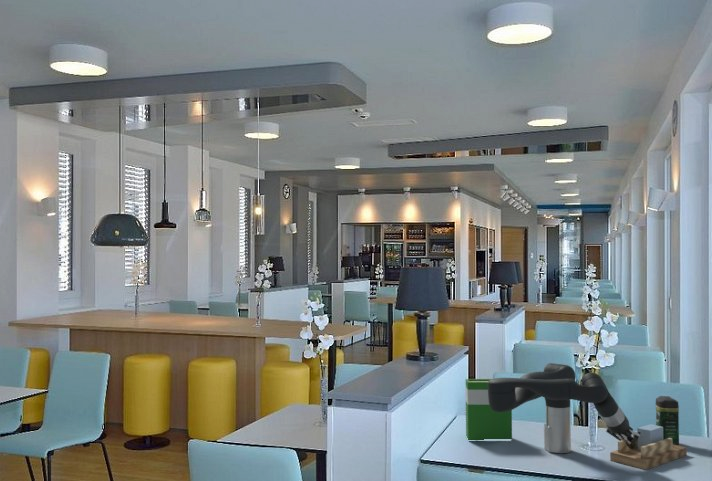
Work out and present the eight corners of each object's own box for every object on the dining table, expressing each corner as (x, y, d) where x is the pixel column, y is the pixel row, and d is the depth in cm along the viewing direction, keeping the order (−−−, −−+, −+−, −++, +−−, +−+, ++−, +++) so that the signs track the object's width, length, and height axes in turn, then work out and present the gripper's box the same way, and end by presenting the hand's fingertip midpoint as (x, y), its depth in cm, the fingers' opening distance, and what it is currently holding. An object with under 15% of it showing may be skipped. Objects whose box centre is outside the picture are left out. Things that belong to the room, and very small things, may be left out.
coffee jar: (681, 447, 273) (681, 399, 273) (660, 446, 274) (659, 399, 275) (674, 441, 283) (673, 394, 283) (653, 440, 284) (653, 394, 284)
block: (650, 452, 256) (650, 430, 256) (637, 449, 260) (637, 428, 260) (663, 448, 262) (663, 426, 262) (650, 445, 266) (650, 424, 266)
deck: (646, 469, 246) (645, 449, 246) (610, 460, 257) (610, 441, 257) (686, 455, 263) (686, 436, 263) (651, 447, 274) (651, 429, 274)
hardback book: (508, 436, 291) (508, 379, 291) (512, 441, 283) (511, 382, 284) (466, 436, 292) (465, 379, 292) (468, 441, 284) (467, 382, 285)
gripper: (592, 422, 249) (612, 451, 256) (626, 429, 239) (646, 459, 246) (601, 405, 252) (620, 434, 260) (635, 412, 242) (654, 442, 249)
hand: (632, 446), depth 253 cm, fingers closed
